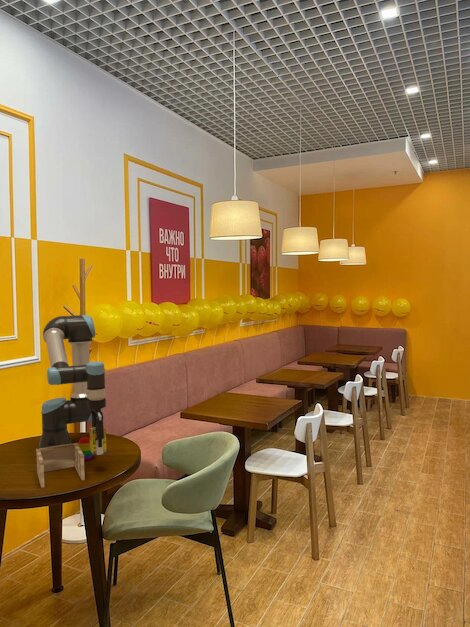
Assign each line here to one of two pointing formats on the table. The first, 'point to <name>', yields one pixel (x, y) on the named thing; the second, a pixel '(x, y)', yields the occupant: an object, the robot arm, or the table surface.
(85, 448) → the decorative egg
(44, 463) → the brown wooden frame
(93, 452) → the supplement box
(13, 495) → the table surface
